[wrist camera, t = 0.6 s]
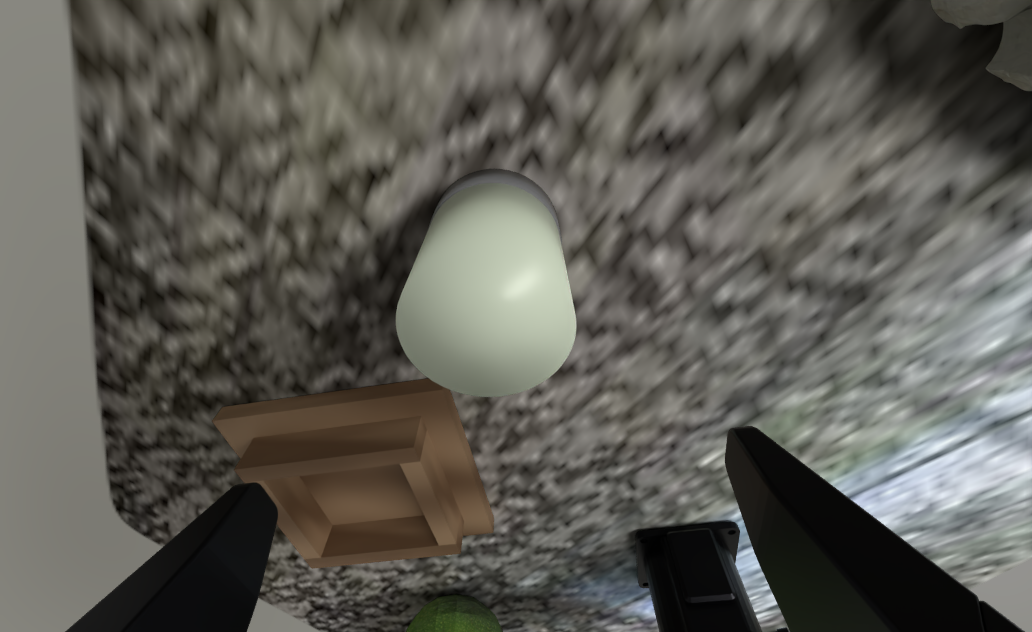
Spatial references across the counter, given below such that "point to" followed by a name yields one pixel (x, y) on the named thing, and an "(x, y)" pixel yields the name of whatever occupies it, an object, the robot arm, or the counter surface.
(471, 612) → the avocado
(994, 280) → the counter surface
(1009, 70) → the egg carton
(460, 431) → the holder
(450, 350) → the white rounded cylinder
